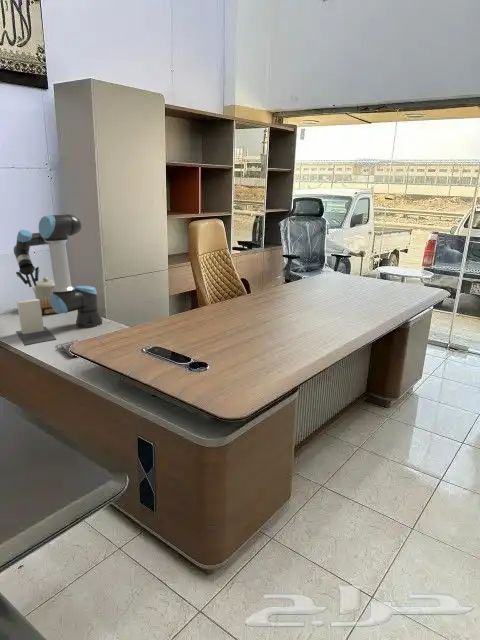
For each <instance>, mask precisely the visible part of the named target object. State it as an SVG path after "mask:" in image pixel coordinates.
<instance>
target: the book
mask: <svg viewBox="0 0 480 640" xmlns="http://www.w3.org/2000/svg"><path fill="white" fill-rule="evenodd" d="M16 305H17V310H18V317H19V324H20V325H19V326H20V331H22V334H28V333H33V332H39V331H44V327H45V326H44V321H43V316H42V309H41V305H40V300H39V299H36V298H35V299H27V300H20V301H16Z"/></svg>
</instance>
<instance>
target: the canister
mask: <svg viewBox="0 0 480 640" xmlns="http://www.w3.org/2000/svg"><path fill="white" fill-rule="evenodd" d="M54 288H55V284H54V279H49V277H47V276H44V277H42V280H38V281H36V286H35V289H36V291H33V293H34V295H35V299H39V300H40V305H41V297H42V300H43V304H44V297H45V299H46V303H47V297H48V299H49V298H50V295H52V294H53V289H54ZM49 303H50V301H49Z"/></svg>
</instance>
